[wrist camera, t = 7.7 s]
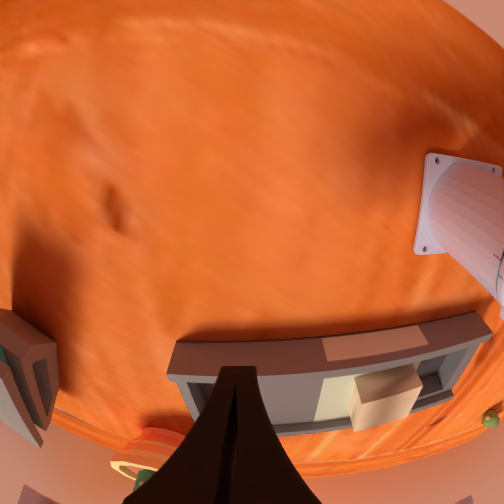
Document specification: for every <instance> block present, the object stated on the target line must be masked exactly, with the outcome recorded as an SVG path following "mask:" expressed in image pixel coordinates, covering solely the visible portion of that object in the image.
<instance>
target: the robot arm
mask: <svg viewBox="0 0 504 504" xmlns="http://www.w3.org/2000/svg"><path fill="white" fill-rule="evenodd" d="M436 158H437V162H435V159H436ZM424 247H425V249H424V250H423V248H424ZM414 252H415V253H416V254H417V255H425V254H439V253H448V254H449V255H450V256H452V257H453V258H454V259H455V260H456V261H457V262H458V263H459V264H460V265H461V266H462V267H464V268H465V269H466V270H467V271H468V272H469V273H470V274H471V275H472V276H473V277H474V278H475V279H476V280H477V281H478V282H479V283H480V284H481V285H482V286H483V287H484V288H485V289H486V290H487V291H488V292H489V293H490V294H491V295H492V296H493V297H494V298H495V299H496V300H497V302H499V303H500V306H501V312H500V317H501V318H502V319H503V321H504V178H502V168H501V167H500V166H498V165H494V164H489V163H485V162H481V161H476V160H471V159H466V158H461V157H455V156H450V155H444V154H437V153H431V152H430V153H427V154H426V156H425V166H424V178H423V189H422V198H421V206H420V213H419V220H418V226H417V232H416V237H415V243H414ZM18 504H59V503H58V502H56V501H54V500H52V499H50V498H48V497H45V496H44V495H42V494H40V493H38V492H37V491H35V490H33V489H32V488H30V487H28V486H27V485H24V486H23V489H22V492H21V495H20V498H19V502H18ZM122 504H322V503H321V502H320V501H319V500H318V498H317V497H316V496H315V495H314V493H313V492H312V491H311V490H310V489H309V487H308V486H307V484H306V483H305V482H304V480H303V479H302V477H301V476H300V474H299V473H298V471H297V470H296V469H295V467H294V466H293V464H292V462H291V461H290V459H289V457H288V456H287V454H286V452H285V450H284V449H283V447H282V445H281V443H280V441H279V439H278V437H277V435H276V433H275V431H274V428H273V426H272V424H271V422H270V419H269V417H268V414H267V411H266V408H265V406H264V403H263V400H262V396H261V393H260V389H259V384H258V379H257V367H255V366H222V367H221V368H220V371H219V374H218V377H217V379H216V382H215V384H214V387H213V389H212V391H211V393H210V396H209V398H208V399H207V401H206V403H205V405H204V407H203V409H202V411H201V413H200V415H199V416H198V418H197V420H196V421H195V423H194V425H193V426H192V428H191V429H190V431H189V432H188V434H187V435H186V437H185V438H184V440H183V441H182V442H181V444H180V445H179V446H178V448H177V449H176V450H175V451H174V453H173V454H172V455H171V456H170V457H169V459H168V460H167V461H166V462H165V463H164V464H163V465H162V466H161V467H160V468H159V469H158V470H157V471H156V472H155V473H154V474H153V475H152V476H151V477H150V478H149V479H148V480H147V481H146V482H145V483H144V484H142V485H141V486H140V487H139V488H137V489H136V490H135V491H134V492H133V493H131V494H130V495H129V496H127V497H126V498H125V499H124V501H123V503H122ZM455 504H474V503H473V499H472V496H468V497H466V498H464V499H462V500H460V501H458V502H457V503H455Z"/></svg>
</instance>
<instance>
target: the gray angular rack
mask: <svg viewBox="0 0 504 504" xmlns="http://www.w3.org/2000/svg"><path fill="white" fill-rule="evenodd" d="M59 385H60V380H59V370H58V358H57V342H56V341H54V340H53V339H51V338H49V337H48V336H46V335H45V334H43V333H42V332H41V331H39V330H38V329H36V328H35V327H33V326H32V325H31V324H29V323H28V322H26V321H25V320H24V319H22V318H21V317H20V316H18V315H17V314H16V313H14V312H13V311H12V310H6V309H1V308H0V419H1V421H2V422H4V423H5V424H6V425H8V426H9V427H10V428H11V429H13V430H14V431H15V432H17V433H18V434H20V435H21V436H23V437H24V438H25V439H27V440H28V441H30V442H31V443H33V444H35V445H36V446H38V447H39V448H41V446H42V444H43V440H42V438H41V436H40V434H39V432H38V431H37V429H36V427H35V425H37V426H38V427H40V428H41V429H43V430H45V431H46V430H47V428H48V426H49V424H50V421H51V417H52V412H53V408H54V404H55V400H56V396H57V392H58V389H59ZM34 424H35V425H34Z"/></svg>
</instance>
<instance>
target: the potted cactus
mask: <svg viewBox="0 0 504 504" xmlns="http://www.w3.org/2000/svg"><path fill="white" fill-rule="evenodd" d="M185 437H186V436H184V435H182V434H180V433H177V432H174V431H171V430H167V429H164V428H155V427H147V428H143V429H142V430H141V436H139V437H137V438H136V439H134V440H132V441H131V442H129V443H128V445H127V446H126V447H125V448H124V449H123V451H122V452H121V453H120V454H115V455H114V457H113V458H112V460H111V466H112V467H113V468H114V469H115V470H117V471H119V472H120V473H122V474H123V475H125V476H127V477H129V478H132V479H134V480H136V482H135V486H134V489H133V492H134V491H135V490H136V489H137V488H139V487H140V486H141V485H142V484H144V483H145V482H146V481H147V480H148V479H149V478H150V477H151V476H152V475H153V474H154V473H155V472H156V471H157V470H158V469H159V468H160V467H161V466H162V465H163V464H164V463H165V462H166V461H167V460H168V459H169V457H170V456H171V455H172V454H173V453H174V451H175V450H176V449H177V448H178V446H179V445H180V444H181V442H182V441H183V440H184V438H185Z"/></svg>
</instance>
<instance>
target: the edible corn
mask: <svg viewBox="0 0 504 504" xmlns="http://www.w3.org/2000/svg"><path fill="white" fill-rule="evenodd" d="M482 424H484V426H485V427H497V426H498V425H499V417H498V414H497V413H496V412H495V411H494V410H488V411H487V412H486V413H485V414H483V417H482Z"/></svg>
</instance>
